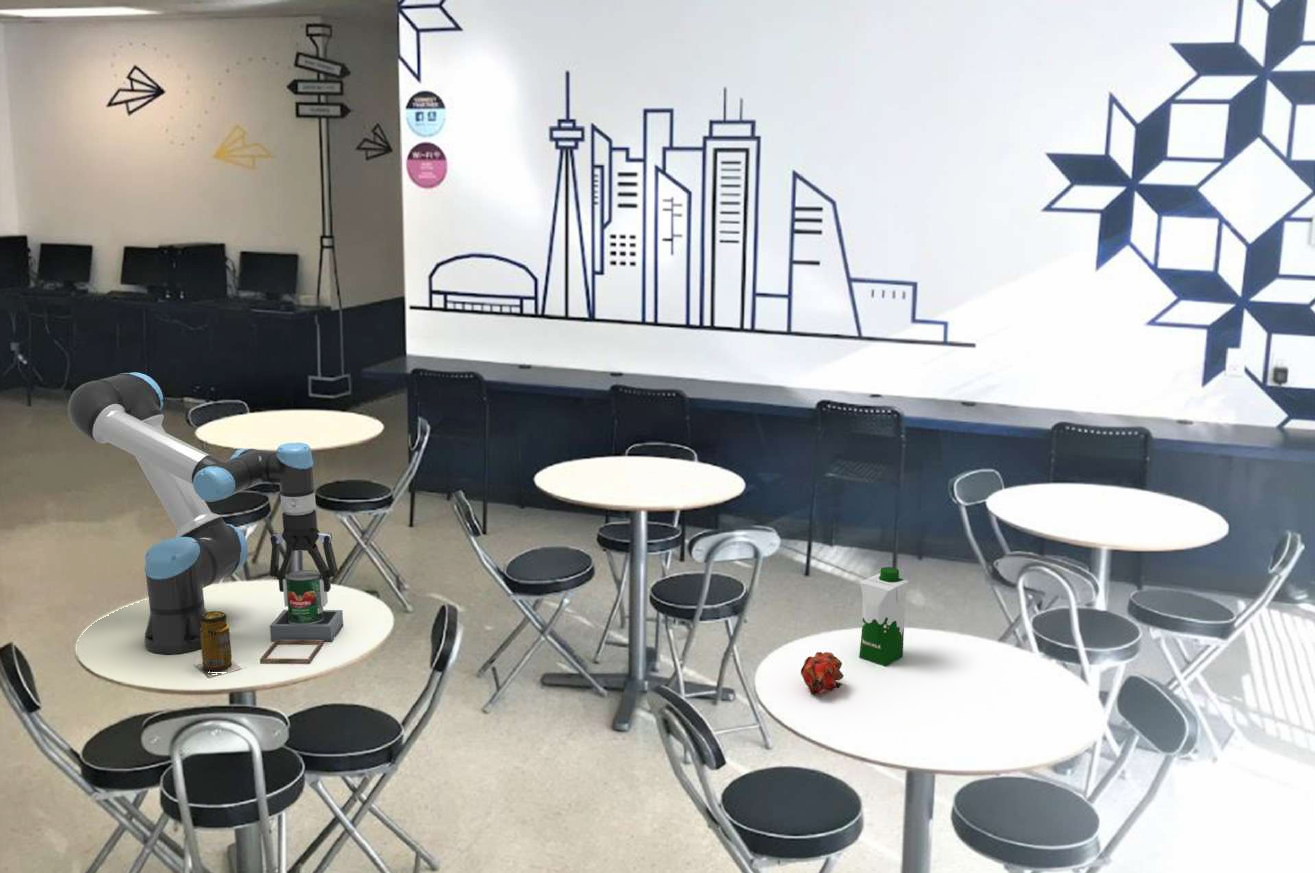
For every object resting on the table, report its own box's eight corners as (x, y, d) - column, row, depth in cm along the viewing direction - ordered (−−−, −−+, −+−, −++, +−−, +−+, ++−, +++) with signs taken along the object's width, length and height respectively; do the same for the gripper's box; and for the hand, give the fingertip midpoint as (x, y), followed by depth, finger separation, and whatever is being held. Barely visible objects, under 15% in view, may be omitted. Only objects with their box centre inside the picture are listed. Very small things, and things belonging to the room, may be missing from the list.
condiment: (227, 657, 274) (223, 606, 271) (242, 669, 268) (237, 617, 265) (195, 665, 270) (190, 614, 267) (208, 678, 263) (203, 626, 260)
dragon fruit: (830, 683, 264) (819, 715, 253) (798, 659, 264) (786, 690, 253) (854, 659, 260) (844, 690, 249) (821, 634, 260) (810, 664, 249)
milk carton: (908, 656, 274) (912, 571, 269) (886, 669, 267) (890, 582, 262) (875, 646, 279) (878, 562, 275) (852, 657, 273) (856, 573, 268)
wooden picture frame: (260, 663, 271) (260, 659, 270) (276, 643, 281) (276, 639, 281) (309, 663, 270) (309, 659, 270) (324, 643, 281) (323, 639, 281)
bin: (271, 642, 282) (269, 625, 281) (284, 625, 292) (283, 609, 291) (331, 642, 282) (330, 626, 281) (343, 625, 292) (342, 610, 291)
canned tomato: (290, 627, 280) (288, 580, 278) (286, 617, 287) (284, 571, 285) (326, 622, 283) (324, 576, 281) (321, 613, 290) (319, 568, 288)
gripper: (248, 515, 276) (256, 610, 282) (339, 515, 276) (346, 610, 281) (259, 505, 284) (267, 598, 289) (348, 505, 283) (354, 598, 289)
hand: (306, 604), depth 285 cm, fingers closed on canned tomato, 8 cm apart
